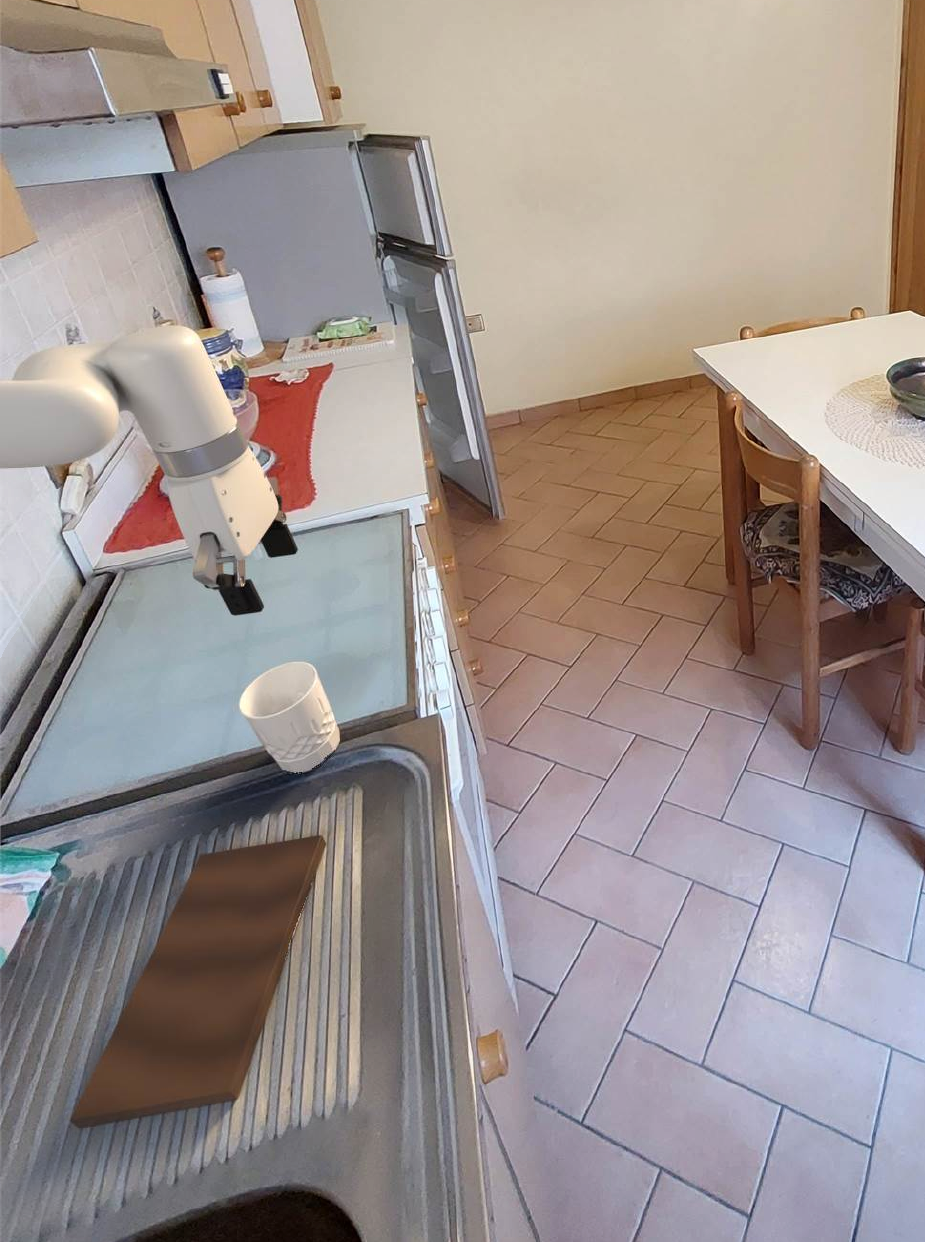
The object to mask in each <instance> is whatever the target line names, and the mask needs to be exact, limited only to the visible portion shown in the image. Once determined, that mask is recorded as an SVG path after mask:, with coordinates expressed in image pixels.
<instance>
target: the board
mask: <svg viewBox="0 0 925 1242" xmlns="http://www.w3.org/2000/svg"><path fill="white" fill-rule="evenodd" d="M326 846H327V841H326V840H325V838H324V837H323V834H318V835H317V834H316V835H312V836H305V837H299V838H293V839H287V840H281V841H275V842H268V843H263V844H257V845H250V846H245V847H237V848H232V849H226V850H219V851H213V852H207V853H202V854H200V855H199V856H198V858H197V861H196V862H195V865H194V867H193V869H192V870H191V872H190V875H189V877H188V879H187V881H186V882H185V885H184V887H183V889H182V891H181V893H180V895H179V897H178V898H177V901H176V903H175V905H174V908H173V910H172V911H171V914H170V915H169V918H168V919H167V922H166V924H165V926H164V928H163V930H162V932H161V934H160V936H159V938H158V940H157V942H156V944H155V946H154V947H153V950H152V952H151V954H150V956H149V958H148V960H147V962H146V964H145V966H144V968H143V970H142V973H141V975H140V976H139V978H138V981H137V983H136V985H135V987H134V988H133V991H132V993H131V995H130V997H129V999H128V1001H127V1002H126V1005H125V1006H124V1009H123V1011H122V1012H121V1015H120V1017H119V1019H118V1021H117V1024H116V1025H115V1027H114V1029H113V1031H112V1033H111V1035H110V1037H109V1039H108V1041H107V1043H106V1045H105V1048H104V1050H103V1052H102V1054H101V1056H100V1058H99V1060H98V1062H97V1064H96V1066H95V1067H94V1070H93V1072H92V1074H91V1076H90V1078H89V1080H88V1082H87V1085H86V1086H85V1088H84V1090H83V1092H82V1095H81V1096H80V1098H79V1100H78V1102H77V1104H76V1107H75V1109H74V1110H73V1112H72V1114H71V1116H70V1118H69V1122H70V1123H71V1124H72V1125H74V1126H75V1127H77V1129H85V1128H90V1127H96V1126H100V1125H101V1126H102V1125H107V1124H112V1123H118V1122H123V1121H124V1122H125V1121H129V1120H135V1119H141V1118H146V1117H151V1116H157V1115H162V1114H168V1113H173V1112H180V1111H184V1110H190V1109H195V1108H200V1107H206V1106H211V1105H217V1104H223V1103H228V1102H234V1101H238V1098H239V1096H240V1093H241V1090H242V1087H243V1085H244V1082H245V1078H246V1075H247V1074H248V1071H249V1068H250V1065H251V1061H252V1059H253V1056H254V1053H255V1050H256V1047H257V1044H258V1042H259V1039H260V1035H261V1033H262V1029H263V1027H264V1024H265V1022H266V1018H267V1015H268V1012H269V1010H270V1007H271V1004H272V1001H273V998H274V996H275V993H274V992H276V990H277V987H278V983H279V981H280V978H281V976H282V973H281V972H283V970H282V969H284V967H283V965H284V966H285V964H284V962H285V963H286V961H285V958H286V956H287V957H288V955H287V953H288V954H289V952H288V947H289V943H290V940H291V937H292V935H293V932H294V930H295V927H296V923H297V922H298V918H299V916H300V913H301V911H302V909H303V906H304V903H305V901H306V897H307V896H308V897H309V895H308V893H309V894H310V892H311V889H312V886H311V883H312V882H313V883H314V881H313V879H314V880H315V878H314V875H315V874H316V875H317V871H318V869H319V866H320V863H321V860H322V857H323V854H324V851H325V849H326ZM316 875H315V876H316ZM313 883H312V884H313ZM309 891H310V892H309ZM306 902H307V901H306ZM304 907H305V906H304ZM303 910H304V909H303ZM286 959H287V958H286ZM273 995H274V996H273ZM271 1000H272V1001H271Z"/></svg>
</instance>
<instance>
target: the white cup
mask: <svg viewBox="0 0 925 1242" xmlns="http://www.w3.org/2000/svg"><path fill="white" fill-rule="evenodd" d="M238 710H239V712H240V714H241V715H242V717H243V718H244V720H245V721H246V723H247V725H248V726H249V727H250V728H251V730H252V732H253V733H254V735H255V736H256V737H257V739H258V741H259V743H261V746H262V747H263V748H264V749H265V750H266V752H267V754H268V755H269V756H271V757H272V758H273V760H274V761H275V763H276V764H277V766H278V767H279V768H280V770H281V771H283V770H286V771H291V772H294V773H296V772H298V774H300V773H299V772H302V773H307V772H310V771H312V770H313V769H312V768H314V767H315V766H316V765H318V764H320V762H322V761H323V760H324V758H325V757H327V755H329V754H330V753H332V752H333V751H334V750H335V751H336V749H337V748H338V746H339V744H340V743H341V732H340V729H339V727H338V724H337V721H336V719H335V715H334V712H333V709H332V707H331V704H330V701H329V698H328V696H327V694H326V691H325V688H324V687H323V684H322V681H321V679H320V677H319V674H318V672H317V669H316V668H315V667H314V666H313V665H312V664H310V663H308V662H305V661H291V662H287V663H286V662H285V663H283V664H279V665H277V666H274V667H272V668H270V669H268V670H267V671H265V672H263V673H261V674H260V675H259V676H257V677H255V679H253V681H251V682H250V683H249V685H248V686H246V688H245V689H244V690H243V692H242V694H241V696H240V698H239V701H238ZM315 768H316V767H315ZM315 768H314V769H315Z"/></svg>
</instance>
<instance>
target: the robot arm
mask: <svg viewBox="0 0 925 1242" xmlns="http://www.w3.org/2000/svg"><path fill="white" fill-rule="evenodd" d="M123 411H127V412H130V413H132V415H133V416H134V418H135V420H136V422H137V424H138V426H139V428H140V430H141V432H142V433H143V436H144V437H145V439H146V441H147V443H148V445H149V447H150V449H151V451H152V453H153V455H154V456H155V458H156V460H157V462H158V465H159V466H160V468H161V470H162V472H163V473H164V476H165V477H166V479H168V481H167V482H166V489H167V494H168V499H169V502H170V507H171V508H172V512H173V515H174V517H175V519H176V523H177V524H178V527H179V529H180V532H181V534H182V537H183V539H184V541H185V543H186V546H187V547H188V550H189V551H190V554H191V556H192V558H193V560H194V566H193V569H192V578H193V579H194V580H195V581H197V582H198V583H200V584H202V585H203V586H204V588H205V589H209V590H210V589H211V590H213V591H218V593H219V595H220V596H221V599H222V600H223V602H224V604H225V606H226V608H227V609H228V611H229V614H230V615H231V616H235V617H236V616H242V615H243V616H244V615H250V614H257V613H261V612H262V611H263V610H264V608H265V605H264V602H263V600H262V598H261V596H260V595H259V593H258V590H257V589H256V586H255V584H254V582H253V581H252V579H251V578H247V579H246V558H248V557H249V556H250V555H251V554H252V553H253V551H254V550H255V549H256V547H257V546H258V545H259V543H260V542H261V544H262V546H263V548H264V550H265V552H266V554H267V557H268V558H271V559H272V558H273V559H274V558H280V557H286V556H294V555H296V554H297V553H298V551H299V549H298V545H297V543H296V542H295V540H294V537H293V534H292V533H291V530H290V528H289V526H288V524H287V515H286V513H285V512H284V511H283V498H282V496H281V495H280V491H279V483H278V479H277V477H276V476H272V477H267V475H266V473H265V471H264V469H263V467H262V465H261V464H260V462H259V460H258V459H257V457H256V456H255V455H256V454H254V452H253V451H252V449H251V447H250V445H249V443H248V441H247V439H246V436H245V434H244V432H243V429H242V427H241V425H240V423H239V421H238V419H237V417H236V414H235V411H234V410H233V407H232V405H231V403H230V400H229V398H228V396H227V394H226V392H225V390H224V387H223V386H222V383H221V381H220V378H219V376H218V375H217V372H216V369H215V366H214V365H213V363H212V360H211V358H210V356H209V353H208V352H207V350H206V348H205V345H204V344H203V341H202V340H201V337H200V336H199V335H198V333H196V332H195V330H193V329H192V328H190V327H187V326H183V325H176V324H175V325H174V324H173V325H161V326H155V327H149V328H146V329H142V330H139V331H136V332H133V333H130V334H128V335H125V336H123V337H121V338H115V339H109V340H101V341H100V340H99V341H93V342H83V343H75V344H67V345H59V346H53V347H49V348H45V349H42V350H39V351H37V352H35V353H33V354H31V355H29V356H28V357H26V358H25V359H24V360H22V361H21V363H19V364H18V366H17V368H16V369H15V372H14V373H13V376H12V380H0V469H1V470H3V469H25V468H26V469H27V468H42V467H43V468H45V467H52V466H61V465H66V464H70V463H74V462H79V461H82V460H84V459H88V458H89V457H92V456H94V455H96V454H97V453H99V452H101V451H102V450H103V449H104V448H105V447H107V446H108V445H109V444H110V443H111V441H112V440H113V438H114V437H115V435H116V434H117V431H118V428H119V423H120V413H121V412H123ZM222 552H227V553H228V554H229V555H227V556H222ZM225 564H232V573H233V574H231V573H230V574H229V573H224V565H225Z"/></svg>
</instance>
